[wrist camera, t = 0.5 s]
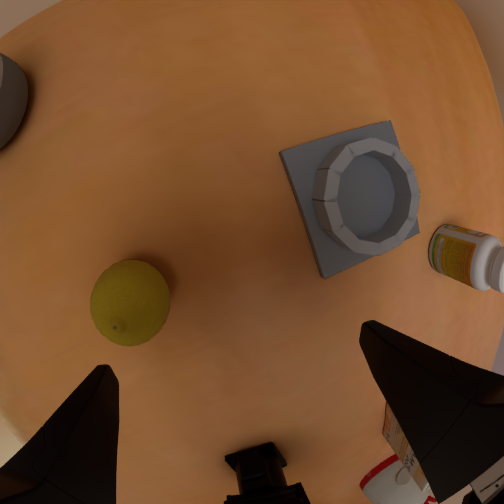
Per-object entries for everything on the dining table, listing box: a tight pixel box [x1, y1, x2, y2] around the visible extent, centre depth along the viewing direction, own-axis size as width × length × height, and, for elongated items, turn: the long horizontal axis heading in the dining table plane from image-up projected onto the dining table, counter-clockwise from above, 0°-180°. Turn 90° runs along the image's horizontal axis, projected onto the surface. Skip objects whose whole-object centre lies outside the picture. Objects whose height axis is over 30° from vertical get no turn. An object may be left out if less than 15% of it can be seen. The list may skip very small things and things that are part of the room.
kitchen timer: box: [360, 454, 437, 504], centre depth 30 cm, size 14×14×15 cm
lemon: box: [90, 260, 170, 346], centre depth 18 cm, size 6×6×8 cm
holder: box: [279, 120, 420, 279], centre depth 22 cm, size 11×11×3 cm
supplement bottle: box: [429, 225, 504, 293], centre depth 21 cm, size 5×5×10 cm
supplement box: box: [383, 403, 430, 492], centre depth 25 cm, size 8×5×13 cm, turn 13°
